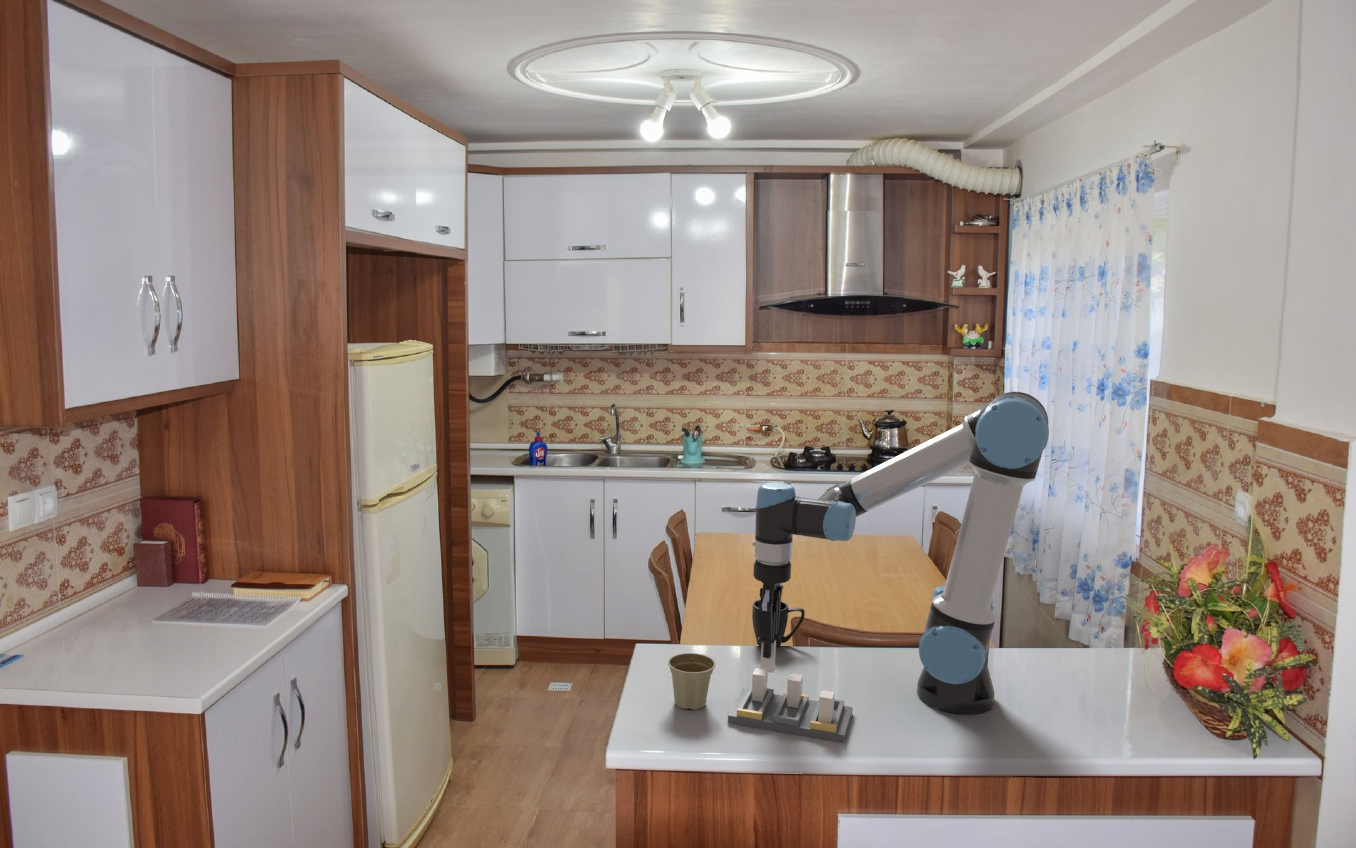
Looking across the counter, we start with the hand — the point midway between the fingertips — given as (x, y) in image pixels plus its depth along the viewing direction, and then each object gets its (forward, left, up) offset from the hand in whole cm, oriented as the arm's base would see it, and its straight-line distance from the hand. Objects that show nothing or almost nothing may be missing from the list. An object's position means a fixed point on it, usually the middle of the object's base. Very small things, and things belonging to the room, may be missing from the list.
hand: (767, 670), depth 187 cm
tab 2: (-7, +8, -3) cm, 11 cm away
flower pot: (+13, +11, -5) cm, 18 cm away
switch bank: (-7, +11, -4) cm, 13 cm away
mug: (+3, -24, -5) cm, 25 cm away
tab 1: (0, +7, -3) cm, 8 cm away
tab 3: (-14, +13, -3) cm, 19 cm away
